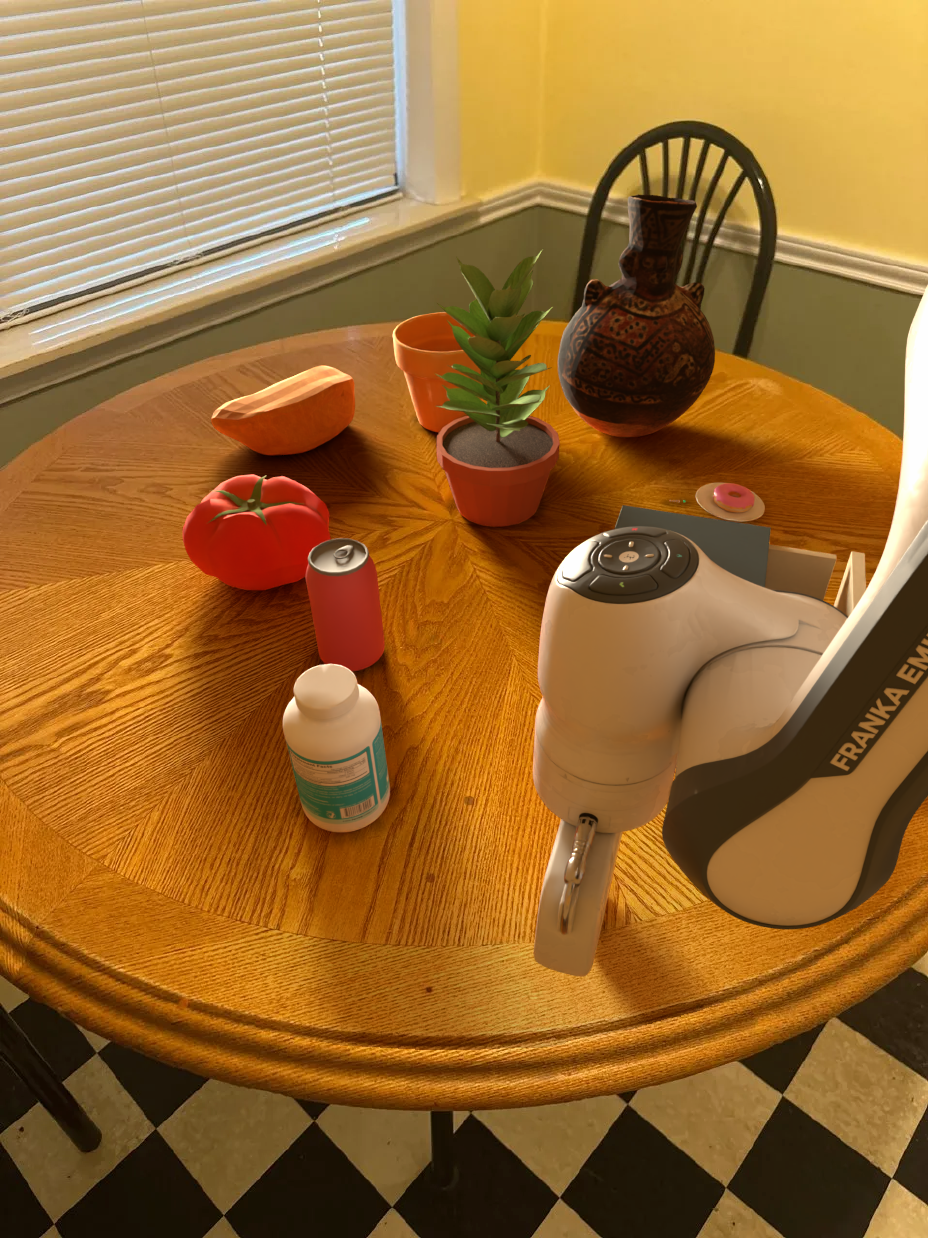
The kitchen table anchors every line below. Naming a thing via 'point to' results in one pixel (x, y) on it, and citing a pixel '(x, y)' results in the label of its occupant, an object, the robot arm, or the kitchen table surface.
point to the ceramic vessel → (640, 331)
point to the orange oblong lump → (291, 413)
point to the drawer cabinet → (712, 539)
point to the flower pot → (430, 365)
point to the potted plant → (496, 407)
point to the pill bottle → (336, 749)
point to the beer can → (345, 604)
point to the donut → (730, 502)
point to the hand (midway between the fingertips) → (587, 884)
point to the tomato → (256, 531)
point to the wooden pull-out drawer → (815, 575)
